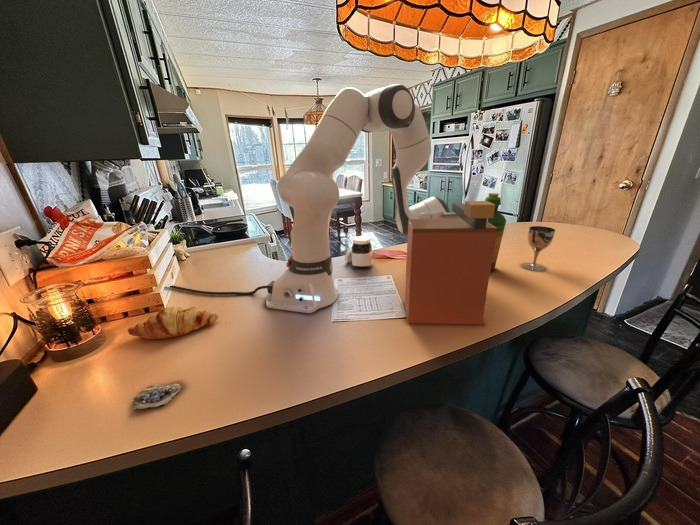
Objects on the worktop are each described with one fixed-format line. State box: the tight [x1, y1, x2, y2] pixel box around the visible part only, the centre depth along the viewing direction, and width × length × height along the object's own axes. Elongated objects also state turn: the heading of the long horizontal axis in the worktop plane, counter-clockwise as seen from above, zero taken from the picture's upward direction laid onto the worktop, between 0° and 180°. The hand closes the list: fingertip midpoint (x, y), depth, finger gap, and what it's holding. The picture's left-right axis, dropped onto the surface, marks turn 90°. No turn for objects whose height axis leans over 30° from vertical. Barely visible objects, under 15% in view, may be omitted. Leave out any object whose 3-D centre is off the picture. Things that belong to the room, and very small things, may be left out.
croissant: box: [127, 306, 219, 340], centre depth 74 cm, size 21×10×8 cm, turn 111°
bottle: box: [484, 192, 507, 272], centre depth 101 cm, size 11×11×28 cm
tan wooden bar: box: [451, 200, 495, 229], centre depth 72 cm, size 5×21×5 cm, turn 175°
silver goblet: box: [522, 225, 556, 272], centre depth 103 cm, size 8×8×15 cm
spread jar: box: [344, 235, 373, 270], centre depth 112 cm, size 12×11×12 cm
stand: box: [404, 218, 497, 325], centre depth 73 cm, size 19×10×26 cm, turn 85°
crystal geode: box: [131, 383, 182, 410], centre depth 54 cm, size 7×8×2 cm
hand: (458, 213), depth 79 cm, fingers open, 8 cm apart
